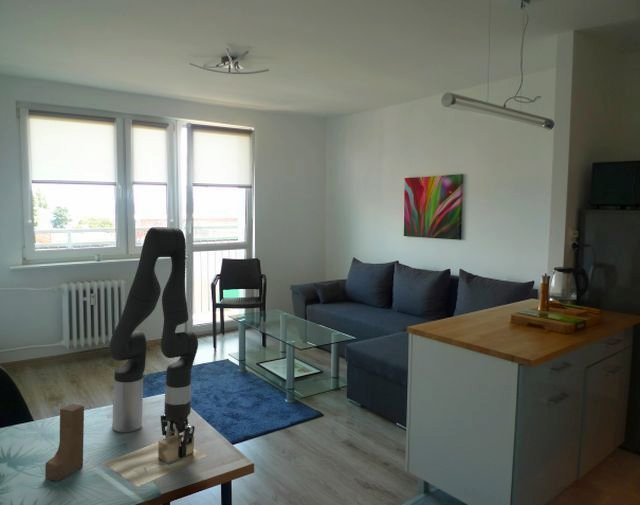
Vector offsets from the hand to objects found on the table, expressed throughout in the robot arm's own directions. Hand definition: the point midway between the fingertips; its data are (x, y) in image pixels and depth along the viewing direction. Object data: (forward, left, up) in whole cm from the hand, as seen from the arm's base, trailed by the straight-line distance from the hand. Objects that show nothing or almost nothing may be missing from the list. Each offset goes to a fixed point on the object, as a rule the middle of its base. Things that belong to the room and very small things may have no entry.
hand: (176, 453), depth 141 cm
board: (-3, -5, -2) cm, 6 cm away
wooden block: (-17, -25, -2) cm, 30 cm away
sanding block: (0, 0, -1) cm, 1 cm away
